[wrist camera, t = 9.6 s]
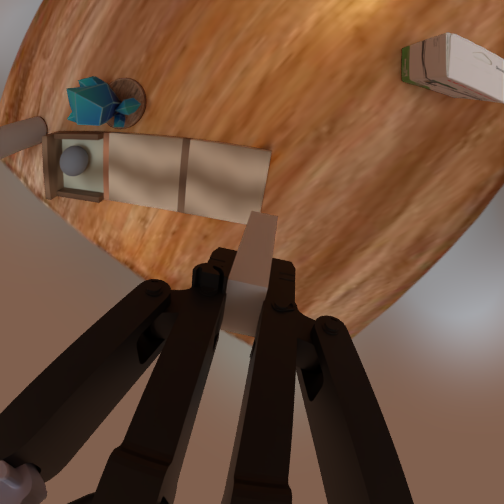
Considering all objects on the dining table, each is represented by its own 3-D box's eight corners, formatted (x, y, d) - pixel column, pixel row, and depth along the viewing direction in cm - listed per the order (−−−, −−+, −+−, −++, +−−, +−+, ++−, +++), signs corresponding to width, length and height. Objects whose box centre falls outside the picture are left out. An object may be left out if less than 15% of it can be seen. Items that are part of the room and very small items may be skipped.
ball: (67, 147, 31) (92, 141, 35) (52, 150, 33) (76, 144, 36) (71, 179, 33) (95, 171, 37) (56, 180, 35) (80, 172, 38)
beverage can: (34, 112, 34) (-20, 127, 23) (51, 121, 34) (-4, 138, 24) (28, 138, 36) (-23, 157, 26) (44, 148, 37) (-9, 169, 26)
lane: (58, 131, 35) (42, 136, 32) (271, 150, 34) (269, 156, 31) (60, 190, 40) (45, 198, 37) (258, 223, 39) (254, 237, 36)
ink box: (399, 81, 28) (445, 78, 17) (401, 45, 25) (445, 29, 15) (456, 99, 27) (510, 107, 17) (458, 65, 24) (512, 62, 14)
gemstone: (113, 67, 30) (55, 65, 20) (159, 95, 32) (107, 99, 22) (90, 111, 34) (32, 125, 23) (132, 141, 35) (78, 162, 25)
